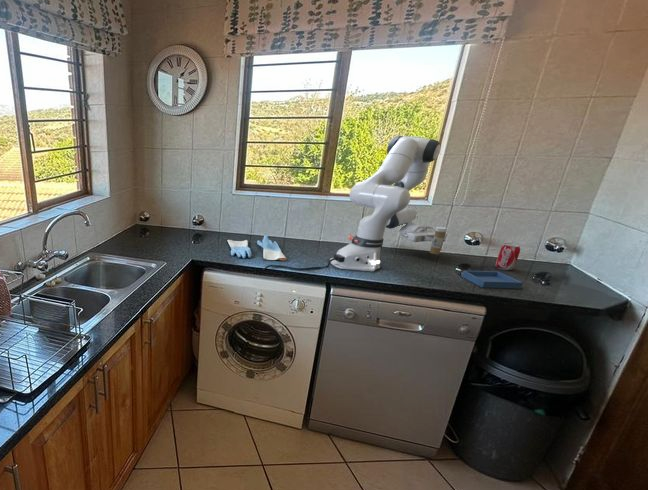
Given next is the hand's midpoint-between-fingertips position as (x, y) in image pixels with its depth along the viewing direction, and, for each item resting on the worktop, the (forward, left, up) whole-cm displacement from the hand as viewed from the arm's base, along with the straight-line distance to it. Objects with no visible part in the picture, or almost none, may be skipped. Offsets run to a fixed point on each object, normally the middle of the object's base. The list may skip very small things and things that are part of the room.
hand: (439, 240), depth 201 cm
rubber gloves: (-89, +9, -10) cm, 90 cm away
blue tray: (+6, -30, -10) cm, 32 cm away
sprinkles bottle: (0, +1, -7) cm, 7 cm away
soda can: (+26, -11, -10) cm, 30 cm away
